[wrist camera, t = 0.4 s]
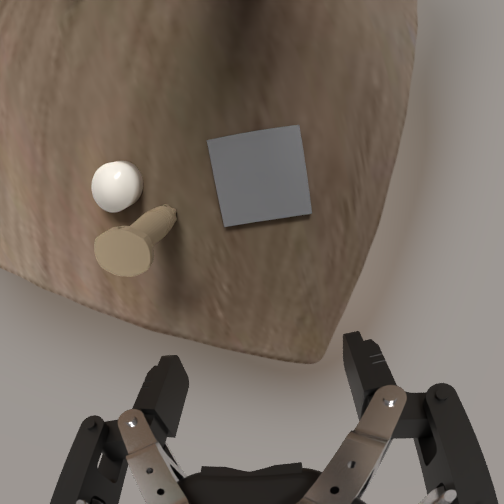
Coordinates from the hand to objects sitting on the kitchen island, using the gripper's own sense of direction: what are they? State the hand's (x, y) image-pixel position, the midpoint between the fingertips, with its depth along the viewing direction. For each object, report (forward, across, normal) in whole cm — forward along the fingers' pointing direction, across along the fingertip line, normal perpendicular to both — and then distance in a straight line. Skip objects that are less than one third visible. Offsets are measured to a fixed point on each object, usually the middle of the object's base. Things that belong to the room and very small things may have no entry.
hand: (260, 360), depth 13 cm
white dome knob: (+28, +19, -9) cm, 35 cm away
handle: (+28, +13, -2) cm, 31 cm away
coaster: (+28, -1, -5) cm, 29 cm away
